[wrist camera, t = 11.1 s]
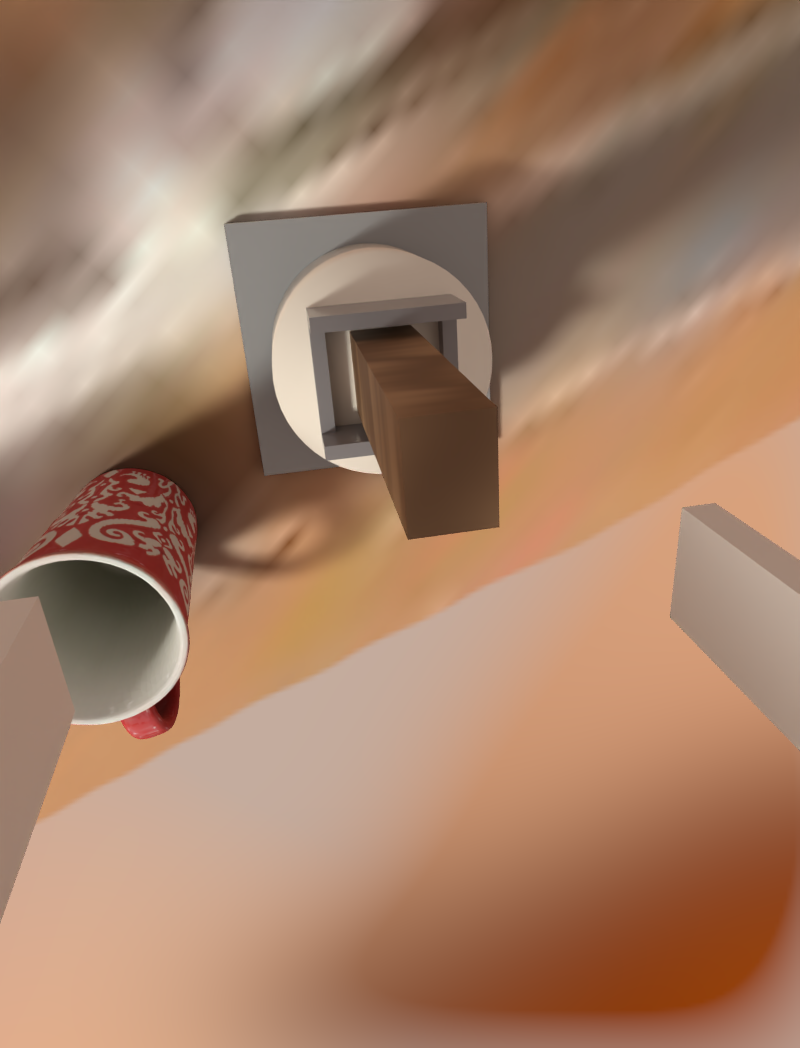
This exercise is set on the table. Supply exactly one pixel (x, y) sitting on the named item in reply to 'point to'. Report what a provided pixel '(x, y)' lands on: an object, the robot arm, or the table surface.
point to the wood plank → (427, 432)
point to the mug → (117, 597)
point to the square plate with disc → (351, 316)
